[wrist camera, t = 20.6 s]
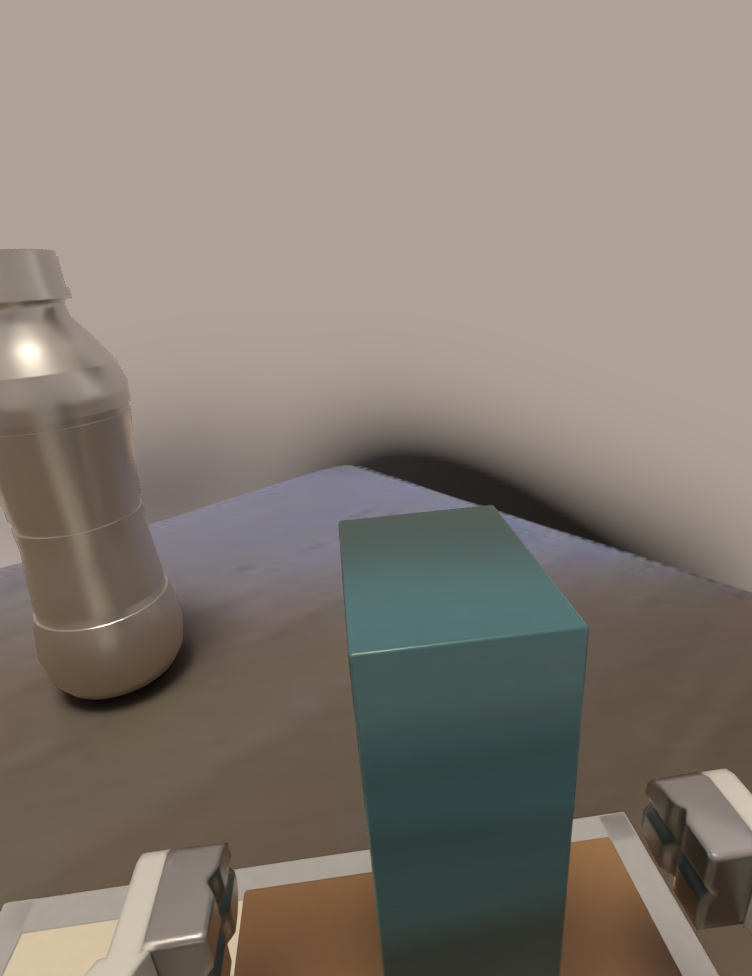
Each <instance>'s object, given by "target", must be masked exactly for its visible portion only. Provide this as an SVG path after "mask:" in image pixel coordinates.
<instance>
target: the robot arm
mask: <svg viewBox="0 0 752 976" xmlns="http://www.w3.org/2000/svg"><path fill="white" fill-rule="evenodd" d="M646 795H647V796H648V798H649V799H650V801H651V802H650V803H649V804H648V805H647V807H646V808H645V809H644V810H643V818H642V825H643V830H644V834H645V839H646V841H647V844H648V846H649V848H650V851H651V853H652V854H653V856H654V858H655V860H656V861H657V863H658V865H659V866H660V867H662V868H663V869H665V870H666V871H667V872H669V873H670V874H671V875H673V876H674V892H675V894H676V895H677V897H678V899H679V900H680V902H681V904H682V905H683V907H684V909H685V910H686V912H687V914H688V915H689V917H690V919H691V920H692V922H693V924H694V926H695V927H696V929H697V930H699V929H707V928H714V927H722V926H729V925H737V924H744V925H743V927H744V928H745V929H747V930H748V931H749V932H750V933H751V934H752V794H751V793H750V792H749V791H748V790H747V788H746V787H745V786H744V785H743V784H742V783H741V782H740V780H739V779H738V778H737V777H736V776H735V775H734V774H733V773H732V772H730V771H729V770H727V769H718V770H712V771H706V772H701V773H698V772H694V773H688V774H682V775H676V776H670V777H664V778H658V779H652V780H651V781H650V782H649V783H648V784H647V789H646ZM230 857H231V853H230V850H229V847H228V843H220V844H212V845H204V846H196V847H188V848H180V849H170V850H163V851H156V852H149V853H143V854H142V855H141V857H140V859H139V860H138V862H137V864H136V866H135V869H134V872H133V875H132V879H131V882H130V885H129V888H128V891H127V894H126V897H125V901H124V904H123V907H122V910H121V913H120V916H119V919H118V923H117V926H116V929H115V932H114V935H113V938H112V941H111V944H110V948H109V951H108V954H107V957H106V958H103V959H98V960H97V961H96V962H95V963H94V964H93V965H92V967H91V968H90V969H89V970H88V971H87V973H86V974H85V975H84V976H230V972H231V964H232V960H231V956H230V952H229V948H228V943H229V941H230V940H231V938H232V937H233V935H234V934H235V932H236V925H237V916H238V885H237V878H236V874H235V871H234V870H232V869H231V868H229V864H230Z"/></svg>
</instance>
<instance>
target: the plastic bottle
mask: <svg viewBox="0 0 752 976" xmlns="http://www.w3.org/2000/svg"><path fill="white" fill-rule="evenodd" d="M68 298H72V296H71V293H70V289H69V287H66V285H65V281H64V278H63V274H62V271H61V267H60V263H59V259H58V257H57V256H56V253H55V251H53V250H43V249H3V250H2V249H1V250H0V504H1V507H2V509H3V511H4V514H5V516H6V519H7V521H8V522H9V523H10V524H11V525H12V528H11V529H12V533H13V536H14V538H15V541H16V543H17V545H18V548H19V550H20V554H21V559H22V563H23V567H24V572H25V576H26V580H27V585H28V589H29V594H30V598H31V602H32V607H33V611H34V613H33V629H34V635H35V641H36V647H37V653H38V659H39V661H40V663H41V665H42V666H43V668H44V669H45V671H46V672H47V674H48V676H49V677H50V679H51V680H52V682H53V683H54V684H55V686H56V687H58V688H59V689H61V690H63V691H65V692H67V693H69V694H71V695H73V696H75V697H79V698H82V699H91V700H98V699H108V698H113V697H118V696H121V695H124V694H128V693H130V692H133V691H135V690H137V689H140V688H142V687H144V686H145V685H147V684H149V683H151V682H152V681H154V680H155V679H157V678H158V677H159V676H161V675H162V674H163V673H164V672H165V671H166V670H167V669H168V668H169V667H170V665H171V664H172V663H173V661H174V659H175V657H176V655H177V653H178V651H179V649H180V647H181V645H182V640H183V615H182V610H181V607H180V605H179V602H178V600H177V597H176V595H175V592H174V590H173V587H172V586H171V584H170V582H169V580H168V578H167V576H166V575H165V574H164V571H163V568H162V565H161V562H160V559H159V557H158V554H157V551H156V548H155V545H154V542H153V539H152V536H151V533H150V530H149V527H148V524H147V522H146V518H145V513H144V507H143V502H142V499H141V498H140V495H139V494H140V485H139V479H138V474H137V469H136V463H135V455H134V442H133V428H132V416H131V406H130V405H129V401H130V393H129V388H128V381H127V378H126V376H125V374H124V372H123V370H122V369H121V367H120V365H119V363H118V361H117V360H116V359H115V358H114V356H113V355H112V354H111V353H110V352H109V351H108V350H107V349H106V348H105V347H104V346H103V345H102V344H101V343H100V342H99V341H98V340H97V339H96V338H95V337H94V336H93V335H92V334H90V333H89V332H88V331H87V330H86V329H85V328H83V327H82V326H81V325H80V324H79V323H78V322H77V321H75V320H74V319H73V318H72V317H71V316H70V314H69V312H68V310H67V308H66V305H65V299H68Z"/></svg>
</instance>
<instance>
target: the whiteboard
mask: <svg viewBox="0 0 752 976" xmlns="http://www.w3.org/2000/svg"><path fill="white" fill-rule="evenodd" d="M604 837H609V838H610V839H611V841H612V843H613V845H614V847H615V848H616V850H617V852H618V854H619V856H620V858H621V860H622V862H623V864H624V866H625V868H626V869H627V871H628V873H629V875H630V877H631V879H632V881H633V883H634V885H635V887H636V889H637V890H638V892H639V894H640V896H641V898H642V900H643V902H644V904H645V906H646V908H647V909H648V911H649V913H650V915H651V917H652V919H653V921H654V923H655V925H656V927H657V929H658V930H659V932H660V934H661V936H662V938H663V940H664V942H665V944H666V946H667V948H668V950H669V951H670V953H671V955H672V957H673V959H674V961H675V963H676V965H677V967H678V969H679V971H680V972H681V974H682V976H719V975H718V973H717V971H716V970H715V968H714V966H713V964H712V963H711V961H710V959H709V957H708V956H707V954H706V952H705V951H704V949H703V947H702V945H701V944H700V942H699V940H698V939H697V937H696V935H695V933H694V932H693V930H692V928H691V926H690V925H689V923H688V921H687V920H686V918H685V916H684V914H683V913H682V911H681V909H680V908H679V906H678V904H677V902H676V901H675V899H674V897H673V895H672V894H671V892H670V890H669V889H668V887H667V885H666V883H665V882H664V880H663V878H662V877H661V875H660V873H659V871H658V870H657V868H656V866H655V864H654V863H653V861H652V859H651V858H650V856H649V854H648V852H647V851H646V849H645V847H644V846H643V844H642V842H641V840H640V839H639V837H638V835H637V833H636V832H635V830H634V828H633V827H632V825H631V823H630V821H629V820H628V818H627V816H626V814H625V813H624V812H619V813H612V814H606V815H599V816H593V817H586V818H579V819H573V825H572V837H571V842H577V841H584V840H591V839H597V838H604ZM234 871H235V874H236V878H237V885H238V916H237V925H236V932H235V934H234V935H233V937H232V938H231V940H230V941H229V943H228V948H229V952H230V956H231V960H232V964H231V972H230V976H234V968H235V961H236V953H237V945H238V937H239V929H240V921H241V913H242V905H243V898H244V893H245V891H247V890H252V889H259V888H266V887H273V886H279V885H286V884H293V883H300V882H306V881H313V880H320V879H327V878H334V877H340V876H347V875H354V874H361V873H367V872H372V867H371V858H370V850H363V851H356V852H350V853H343V854H336V855H329V856H323V857H316V858H309V859H302V860H296V861H289V862H282V863H275V864H269V865H262V866H255V867H248V868H241V869H235V870H234ZM128 888H129V885H127V886H120V887H113V888H106V889H100V890H93V891H86V892H79V893H73V894H66V895H59V896H52V897H46V898H39V899H29V900H22V901H15V902H9V903H5V904H4V906H3V908H2V910H1V912H0V976H84V975H85V974H86V973H87V971H88V970H89V969H90V968H91V967H92V965H93V964H94V963H95V962H96V961H97V960H98V959H103V958H106V957H107V954H108V951H109V948H110V944H111V941H112V938H113V935H114V932H115V929H116V926H117V923H118V919H119V916H120V913H121V910H122V907H123V904H124V901H125V897H126V894H127V891H128Z"/></svg>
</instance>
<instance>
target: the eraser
mask: <svg viewBox="0 0 752 976" xmlns="http://www.w3.org/2000/svg"><path fill="white" fill-rule="evenodd" d="M339 537H340V551H341V564H342V578H343V591H344V605H345V619H346V632H347V646H348V658H349V668H350V677H351V686H352V695H353V704H354V713H355V722H356V731H357V740H358V749H359V758H360V767H361V777H362V786H363V795H364V804H365V813H366V822H367V831H368V840H369V849H370V858H371V867H372V872H367V873H361V874H354V875H347V876H340V877H334V878H327V879H320V880H313V881H306V882H300V883H293V884H286V885H279V886H273V887H266V888H259V889H252V890H247V891H245V893H244V898H243V905H242V913H241V921H240V929H239V937H238V945H237V953H236V961H235V968H234V976H682V974H681V972H680V971H679V969H678V967H677V965H676V963H675V961H674V959H673V957H672V955H671V953H670V951H669V950H668V948H667V946H666V944H665V942H664V940H663V938H662V936H661V934H660V932H659V930H658V929H657V927H656V925H655V923H654V921H653V919H652V917H651V915H650V913H649V911H648V909H647V908H646V906H645V904H644V902H643V900H642V898H641V896H640V894H639V892H638V890H637V889H636V887H635V885H634V883H633V881H632V879H631V877H630V875H629V873H628V871H627V869H626V868H625V866H624V864H623V862H622V860H621V858H620V856H619V854H618V852H617V850H616V848H615V847H614V845H613V843H612V841H611V839H610V838H609V837H604V838H597V839H591V840H584V841H577V842H571V837H572V825H573V813H574V801H575V789H576V777H577V765H578V753H579V741H580V730H581V718H582V706H583V694H584V682H585V670H586V658H587V646H588V634H589V627H588V625H587V624H586V622H585V621H584V620H583V619H582V617H581V616H580V615H579V613H578V612H577V611H576V610H575V608H574V607H573V606H572V605H571V603H570V602H569V601H568V600H567V598H566V597H565V596H564V594H563V593H562V592H561V591H560V589H559V588H558V587H557V586H556V584H555V583H554V582H553V580H552V579H551V578H550V577H549V575H548V574H547V573H546V572H545V570H544V569H543V568H542V567H541V565H540V564H539V563H538V561H537V560H536V559H535V558H534V556H533V555H532V554H531V553H530V551H529V550H528V549H527V548H526V546H525V545H524V544H523V542H522V541H521V540H520V539H519V537H518V536H517V535H516V534H515V532H514V531H513V530H512V529H511V527H510V526H509V525H508V523H507V522H506V521H505V520H504V518H503V517H502V516H501V515H500V513H499V512H498V511H497V509H496V508H495V507H494V506H493V505H488V506H478V507H469V508H459V509H450V510H440V511H431V512H421V513H412V514H402V515H393V516H383V517H374V518H364V519H355V520H345V521H340V522H339Z"/></svg>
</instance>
